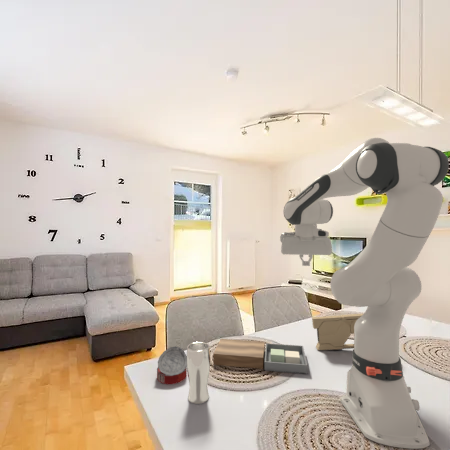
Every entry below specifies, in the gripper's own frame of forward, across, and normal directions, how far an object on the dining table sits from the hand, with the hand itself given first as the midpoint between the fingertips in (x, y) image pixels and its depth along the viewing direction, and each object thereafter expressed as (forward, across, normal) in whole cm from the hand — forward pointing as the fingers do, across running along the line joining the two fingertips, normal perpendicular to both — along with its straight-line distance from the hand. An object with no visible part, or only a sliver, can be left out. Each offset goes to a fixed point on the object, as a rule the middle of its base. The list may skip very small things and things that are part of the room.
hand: (306, 265), depth 115 cm
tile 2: (+31, -6, -13) cm, 34 cm away
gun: (+34, +15, +1) cm, 38 cm away
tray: (+34, -9, -13) cm, 38 cm away
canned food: (+35, -47, -30) cm, 66 cm away
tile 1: (+34, -12, -12) cm, 38 cm away
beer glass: (+34, -35, -40) cm, 63 cm away
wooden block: (+34, -26, -13) cm, 45 cm away
